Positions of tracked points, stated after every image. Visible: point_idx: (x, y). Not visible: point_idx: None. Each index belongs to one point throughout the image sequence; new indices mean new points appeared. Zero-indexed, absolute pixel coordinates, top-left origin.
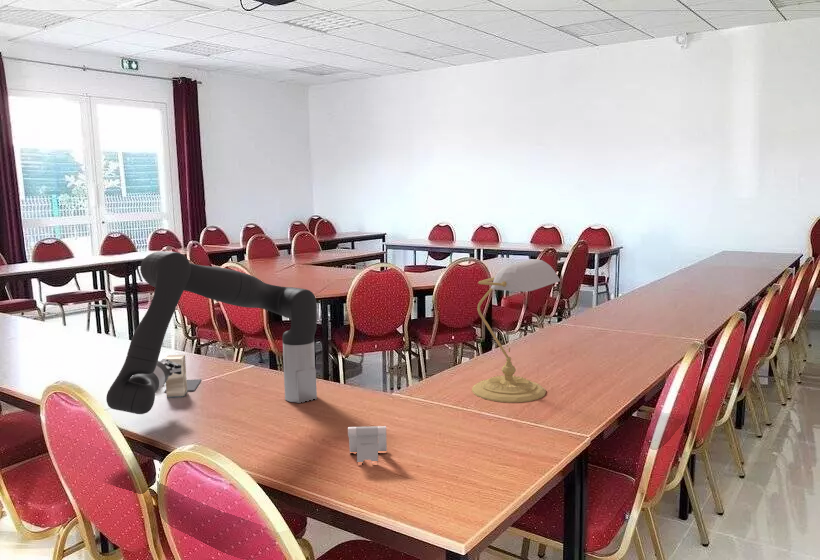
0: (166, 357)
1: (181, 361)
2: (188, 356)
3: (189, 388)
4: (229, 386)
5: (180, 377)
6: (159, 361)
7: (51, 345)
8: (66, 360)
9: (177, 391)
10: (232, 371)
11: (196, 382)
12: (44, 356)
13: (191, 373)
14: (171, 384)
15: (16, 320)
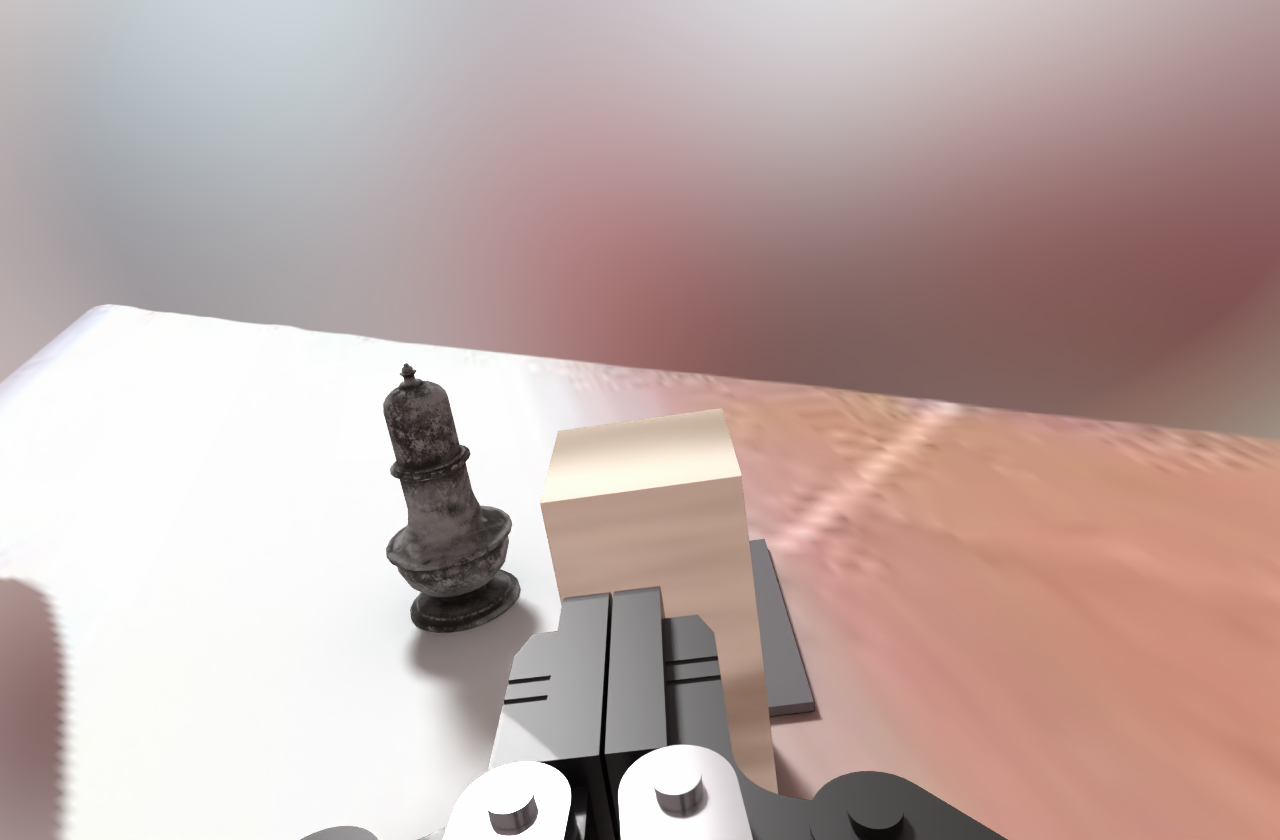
0: (553, 466)
1: (742, 507)
2: (584, 375)
3: None
4: (1059, 618)
5: (739, 674)
6: (527, 789)
7: (118, 375)
8: (112, 437)
9: None
10: (888, 449)
11: (756, 580)
12: (55, 423)
13: None
14: None
15: (103, 313)
